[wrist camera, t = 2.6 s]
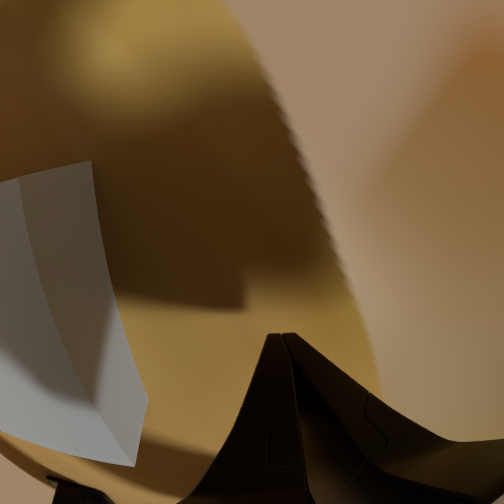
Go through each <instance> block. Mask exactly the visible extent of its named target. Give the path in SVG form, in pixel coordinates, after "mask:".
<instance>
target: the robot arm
mask: <svg viewBox="0 0 504 504" xmlns="http://www.w3.org/2000/svg"><path fill="white" fill-rule="evenodd" d="M368 393H369V391H368V390H366V389H365V388H364V387H363V386H361V385H360V384H359V383H357V382H356V381H355V380H354V379H352V378H351V377H350V376H349V375H347V374H346V373H345V372H343V371H342V370H341V369H340V368H338V367H337V366H336V365H335V364H333V363H332V362H331V361H330V360H328V359H327V358H326V357H325V356H323V355H322V354H321V353H320V352H318V351H317V350H316V349H315V348H313V347H312V346H311V345H310V344H309V343H307V342H306V341H305V340H304V339H302V338H301V337H300V336H299V335H298V334H296V333H283V334H282V335H281V334H280V333H270V334H268V335H267V337H266V340H265V343H264V346H263V348H262V351H261V354H260V357H259V360H258V363H257V365H256V368H255V371H254V374H253V377H252V379H251V382H250V385H249V388H248V390H247V393H246V396H245V398H244V401H243V404H242V407H241V408H240V411H239V414H238V416H237V419H236V421H235V423H234V425H233V428H232V430H231V432H230V434H229V435H228V437H227V439H226V441H225V443H224V444H223V446H222V448H221V449H220V451H219V452H218V454H217V455H216V457H215V459H214V460H213V462H212V463H211V465H210V466H209V468H208V469H207V471H206V472H205V474H204V475H203V477H202V478H201V480H200V481H199V482H198V484H197V485H196V486H195V487H194V489H193V490H192V491H191V492H190V493H189V494H188V495H187V496H186V497H185V498H184V499H182V500H181V501H179V502H178V503H177V504H504V439H497V440H487V441H474V442H456V441H451V440H447V439H445V438H442V437H440V436H438V435H436V434H434V433H433V432H431V431H429V430H427V429H426V428H424V427H422V426H420V425H419V424H417V423H415V422H413V421H412V420H410V419H408V418H407V417H405V416H403V415H402V414H400V413H399V412H397V411H395V410H394V409H392V408H391V407H389V406H388V405H386V404H385V403H384V402H382V401H381V400H380V399H378V398H377V397H376V396H374V395H373V394H372V393H369V394H368ZM46 480H47V481H48V482H49V483H50V484H51V485H52V486H53V487H54V488H55V489H56V490H55V494H54V497H53V501H52V504H114V503H113V502H112V501H111V500H110V499H109V498H108V497H107V496H106V495H105V494H103V493H100V492H97V491H93V490H89V489H86V488H82V487H79V486H76V485H73V484H69V483H66V482H63V481H60V480H58V479H55V478H52V477H49V476H46Z"/></svg>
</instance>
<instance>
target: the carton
mask: <svg viewBox="0 0 504 504" xmlns="http://www.w3.org/2000/svg"><path fill="white" fill-rule="evenodd" d="M148 400H149V399H148V397H147V394H146V391H145V389H144V386H143V384H142V381H141V378H140V376H139V373H138V370H137V367H136V364H135V362H134V359H133V356H132V353H131V350H130V347H129V344H128V341H127V337H126V334H125V331H124V328H123V324H122V321H121V317H120V314H119V310H118V306H117V303H116V299H115V295H114V291H113V287H112V283H111V279H110V274H109V270H108V265H107V261H106V256H105V251H104V246H103V241H102V235H101V230H100V224H99V218H98V211H97V204H96V197H95V189H94V180H93V171H92V161H86V162H81V163H76V164H71V165H66V166H62V167H57V168H53V169H48V170H44V171H40V172H36V173H32V174H28V175H24V176H21V177H17V178H13V179H10V180H6V181H3V182H0V431H2V432H5V433H7V434H10V435H12V436H15V437H17V438H20V439H22V440H25V441H28V442H31V443H34V444H37V445H40V446H43V447H46V448H49V449H52V450H56V451H59V452H63V453H66V454H70V455H74V456H78V457H82V458H87V459H91V460H96V461H101V462H106V463H112V464H118V465H124V466H131V467H135V463H136V458H137V453H138V447H139V442H140V437H141V433H142V428H143V423H144V418H145V414H146V409H147V405H148Z"/></svg>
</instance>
